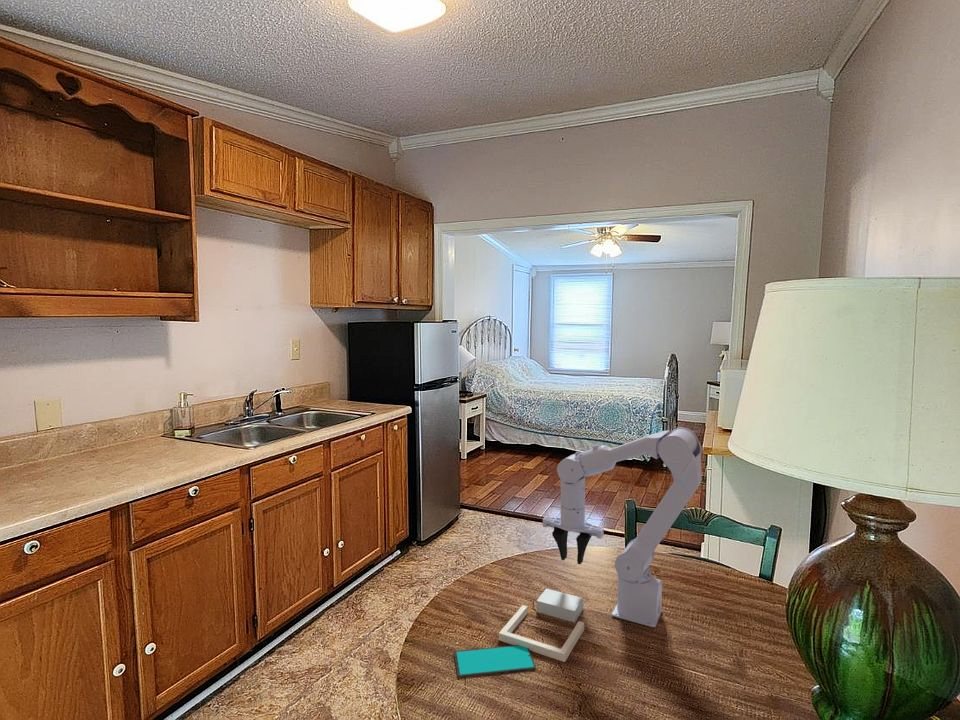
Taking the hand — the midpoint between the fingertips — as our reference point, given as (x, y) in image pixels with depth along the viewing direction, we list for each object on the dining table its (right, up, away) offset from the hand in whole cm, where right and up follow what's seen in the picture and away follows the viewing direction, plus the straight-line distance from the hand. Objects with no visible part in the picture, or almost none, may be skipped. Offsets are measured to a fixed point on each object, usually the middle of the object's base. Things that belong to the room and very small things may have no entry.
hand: (572, 560), depth 127 cm
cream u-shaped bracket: (-9, -10, -15) cm, 20 cm away
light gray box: (-4, -9, -6) cm, 12 cm away
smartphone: (-19, -11, -24) cm, 33 cm away
